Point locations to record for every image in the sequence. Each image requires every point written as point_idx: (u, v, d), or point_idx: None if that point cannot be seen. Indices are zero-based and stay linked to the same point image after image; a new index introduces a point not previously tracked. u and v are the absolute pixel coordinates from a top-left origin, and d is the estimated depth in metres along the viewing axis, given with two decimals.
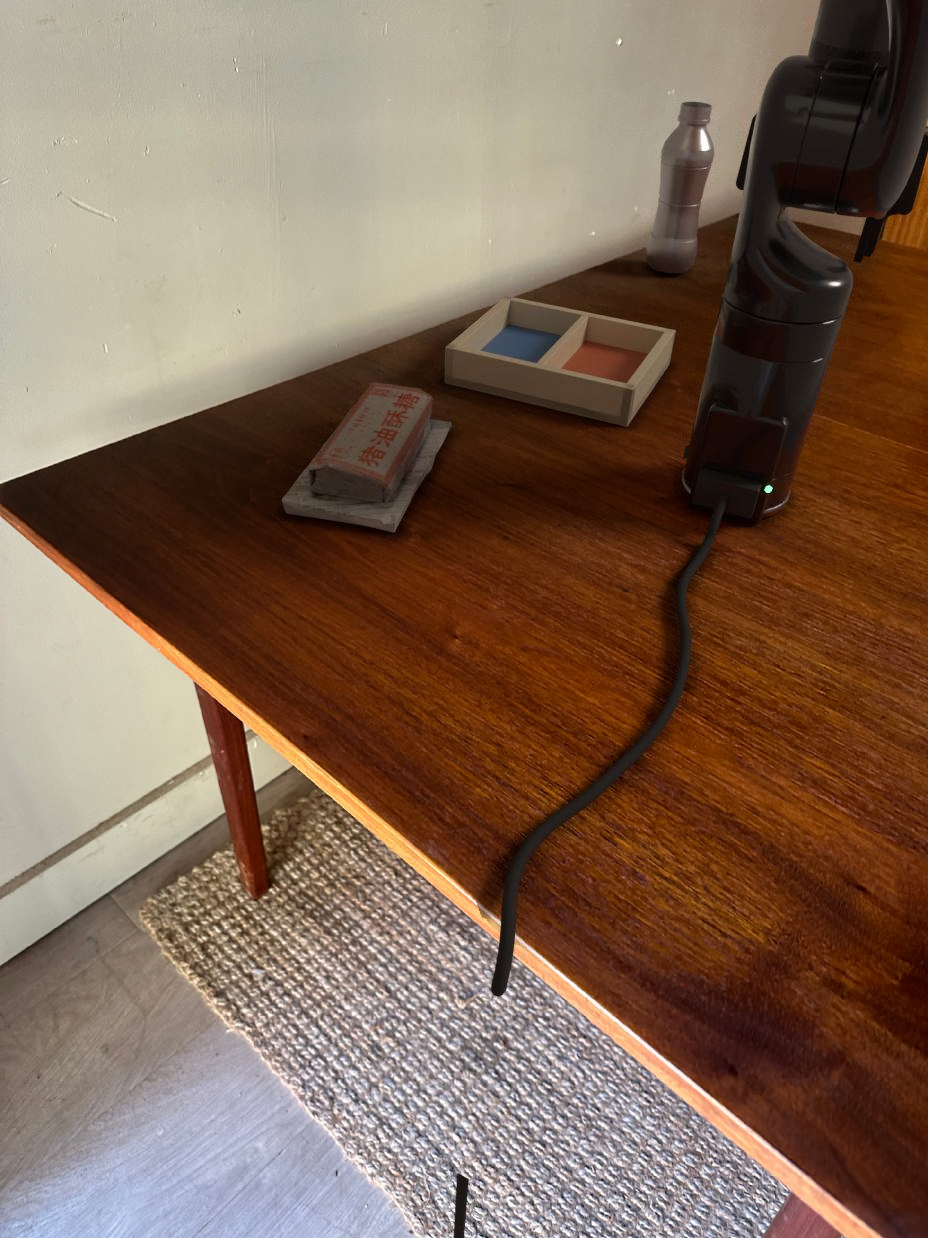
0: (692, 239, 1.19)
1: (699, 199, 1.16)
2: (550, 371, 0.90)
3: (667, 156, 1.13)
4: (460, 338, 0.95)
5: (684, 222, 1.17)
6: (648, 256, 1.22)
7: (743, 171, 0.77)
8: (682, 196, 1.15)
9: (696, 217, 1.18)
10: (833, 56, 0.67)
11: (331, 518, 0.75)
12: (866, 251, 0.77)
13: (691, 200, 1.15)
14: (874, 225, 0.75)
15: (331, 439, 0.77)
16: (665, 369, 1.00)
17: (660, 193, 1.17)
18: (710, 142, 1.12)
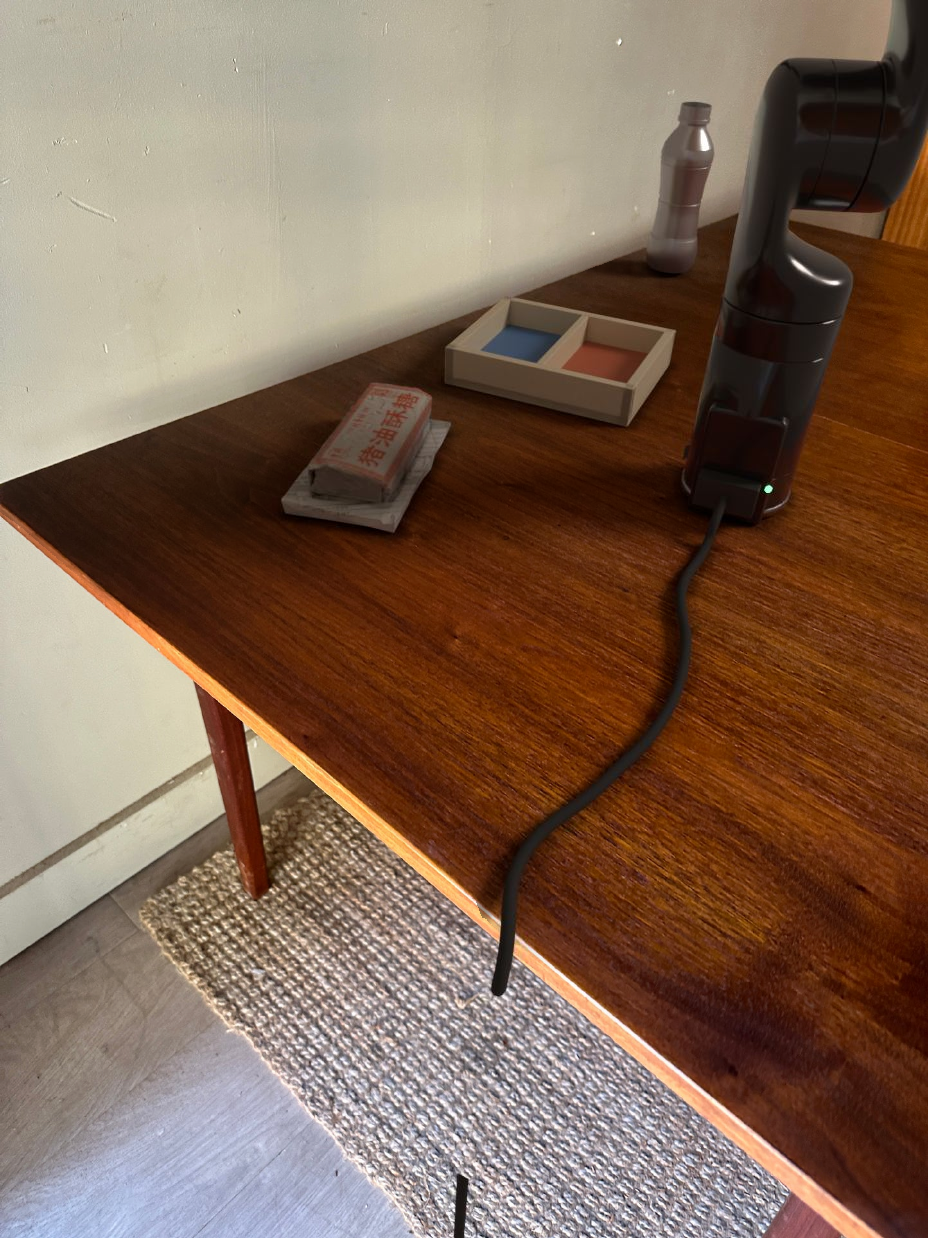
0: (692, 239, 1.19)
1: (699, 199, 1.16)
2: (550, 371, 0.90)
3: (667, 156, 1.13)
4: (460, 338, 0.95)
5: (684, 222, 1.17)
6: (648, 256, 1.22)
7: None
8: (682, 196, 1.15)
9: (696, 217, 1.18)
10: None
11: (330, 518, 0.75)
12: None
13: (691, 200, 1.15)
14: None
15: (330, 439, 0.77)
16: (665, 369, 1.00)
17: (660, 193, 1.17)
18: (710, 142, 1.12)
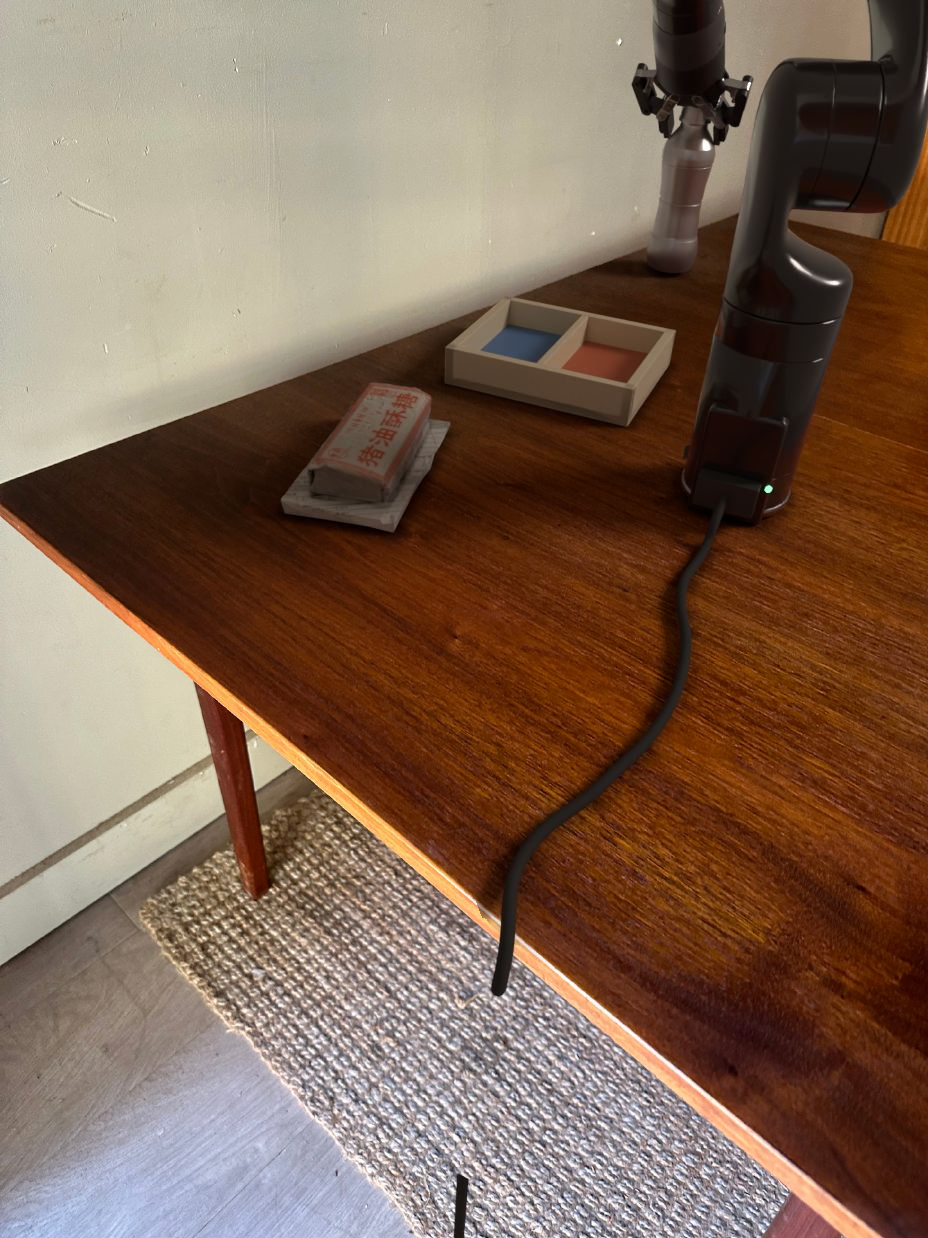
0: (692, 239, 1.19)
1: (700, 199, 1.16)
2: (550, 371, 0.90)
3: (668, 156, 1.13)
4: (460, 338, 0.95)
5: (684, 222, 1.17)
6: (648, 256, 1.22)
7: (642, 107, 1.10)
8: (683, 196, 1.15)
9: (697, 217, 1.18)
10: (665, 70, 1.00)
11: (330, 518, 0.75)
12: (720, 139, 1.12)
13: (692, 200, 1.15)
14: None
15: (330, 439, 0.77)
16: (665, 369, 1.00)
17: (661, 193, 1.17)
18: (711, 142, 1.12)
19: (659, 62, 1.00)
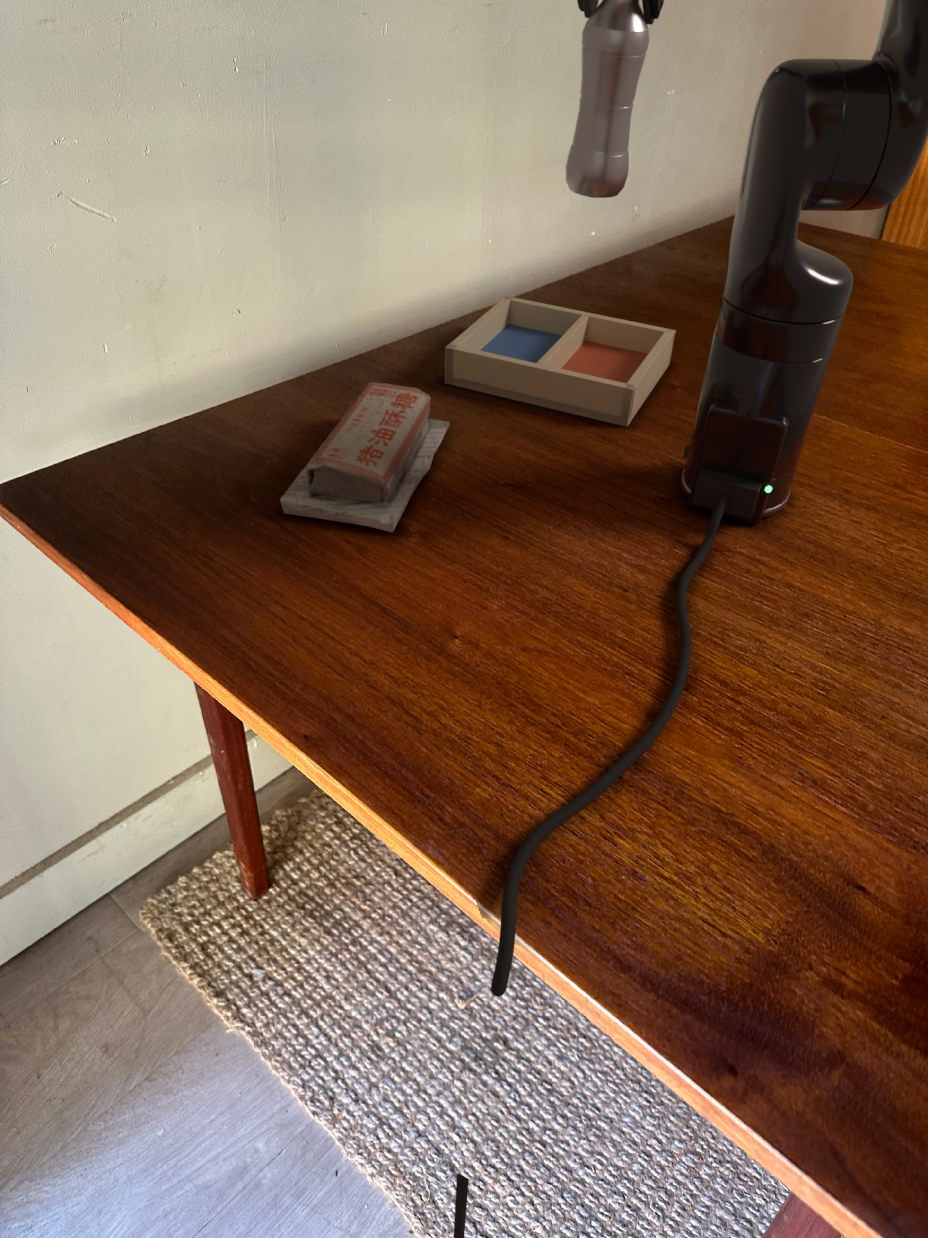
0: (621, 153, 0.94)
1: (629, 100, 0.91)
2: (550, 371, 0.90)
3: (587, 40, 0.88)
4: (460, 338, 0.95)
5: (610, 129, 0.92)
6: (567, 175, 0.96)
7: None
8: (607, 94, 0.90)
9: (626, 124, 0.92)
10: None
11: (329, 518, 0.75)
12: (653, 15, 0.87)
13: (618, 100, 0.90)
14: None
15: (329, 439, 0.77)
16: (665, 369, 1.00)
17: (581, 91, 0.92)
18: (643, 22, 0.87)
19: None
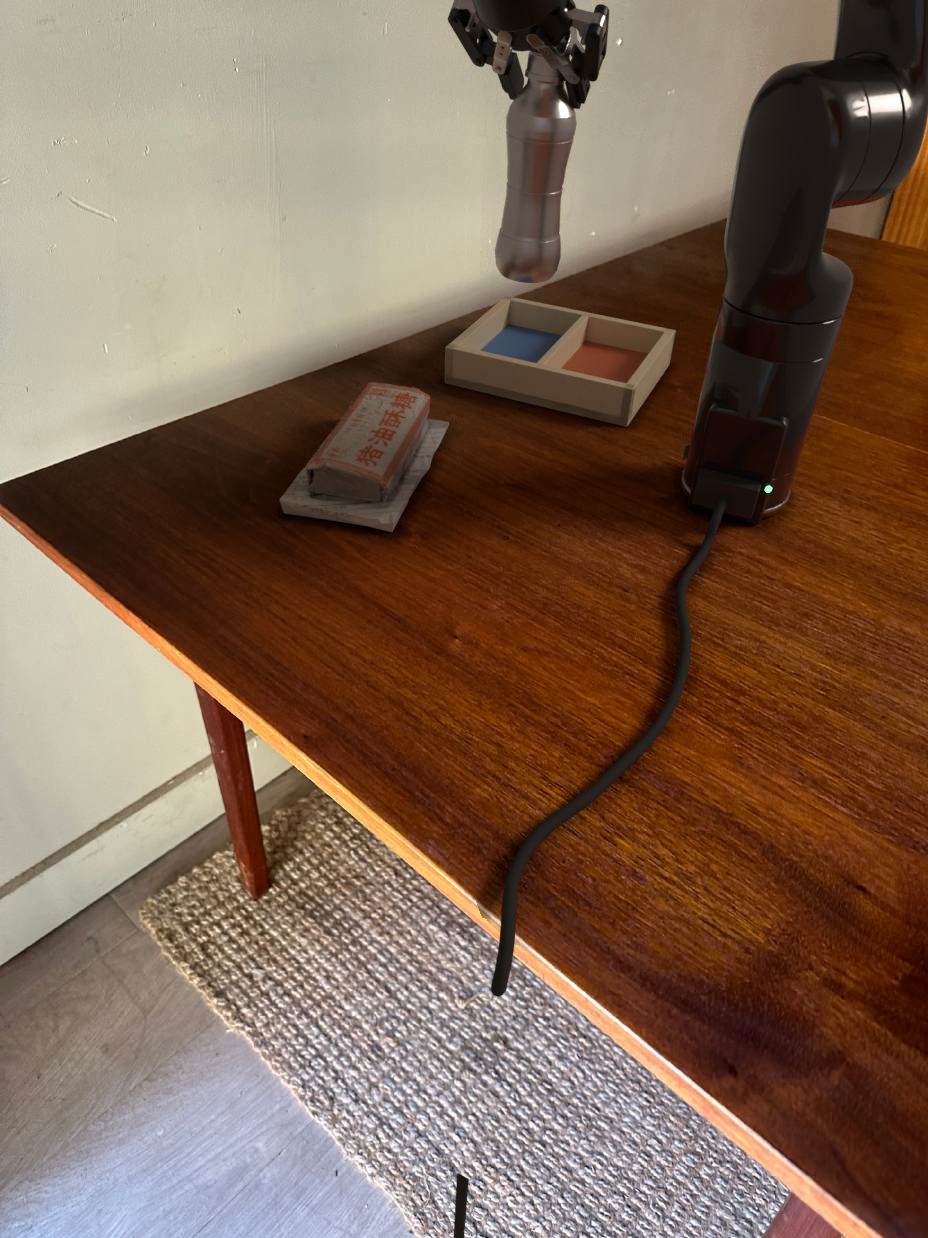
0: (551, 239, 0.89)
1: (557, 185, 0.86)
2: (550, 371, 0.90)
3: (511, 125, 0.83)
4: (460, 338, 0.95)
5: (538, 215, 0.87)
6: (496, 259, 0.92)
7: (472, 55, 0.80)
8: (533, 180, 0.85)
9: (555, 210, 0.88)
10: None
11: (329, 518, 0.75)
12: (579, 100, 0.82)
13: (545, 186, 0.86)
14: (575, 83, 0.80)
15: (329, 439, 0.77)
16: (665, 369, 1.00)
17: (507, 175, 0.87)
18: (569, 107, 0.82)
19: None
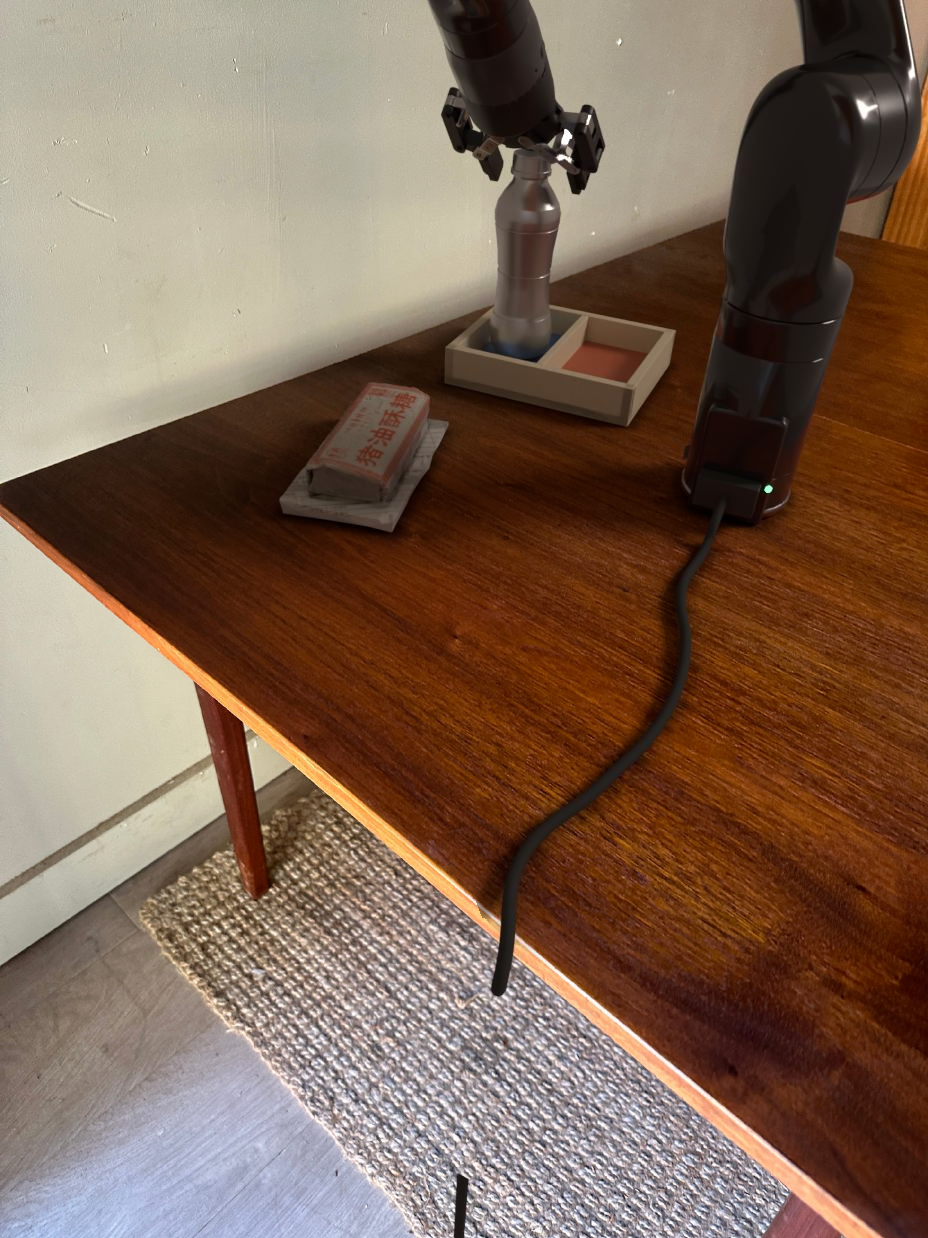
0: (541, 318, 0.94)
1: (545, 270, 0.92)
2: (550, 371, 0.90)
3: (499, 217, 0.89)
4: (460, 338, 0.95)
5: (528, 298, 0.93)
6: (490, 337, 0.97)
7: (455, 143, 0.85)
8: (522, 266, 0.91)
9: (544, 292, 0.93)
10: (470, 104, 0.74)
11: (329, 518, 0.75)
12: (580, 187, 0.86)
13: (534, 271, 0.91)
14: (576, 173, 0.84)
15: (328, 439, 0.77)
16: (665, 369, 1.00)
17: (498, 261, 0.92)
18: (553, 200, 0.88)
19: (462, 94, 0.74)
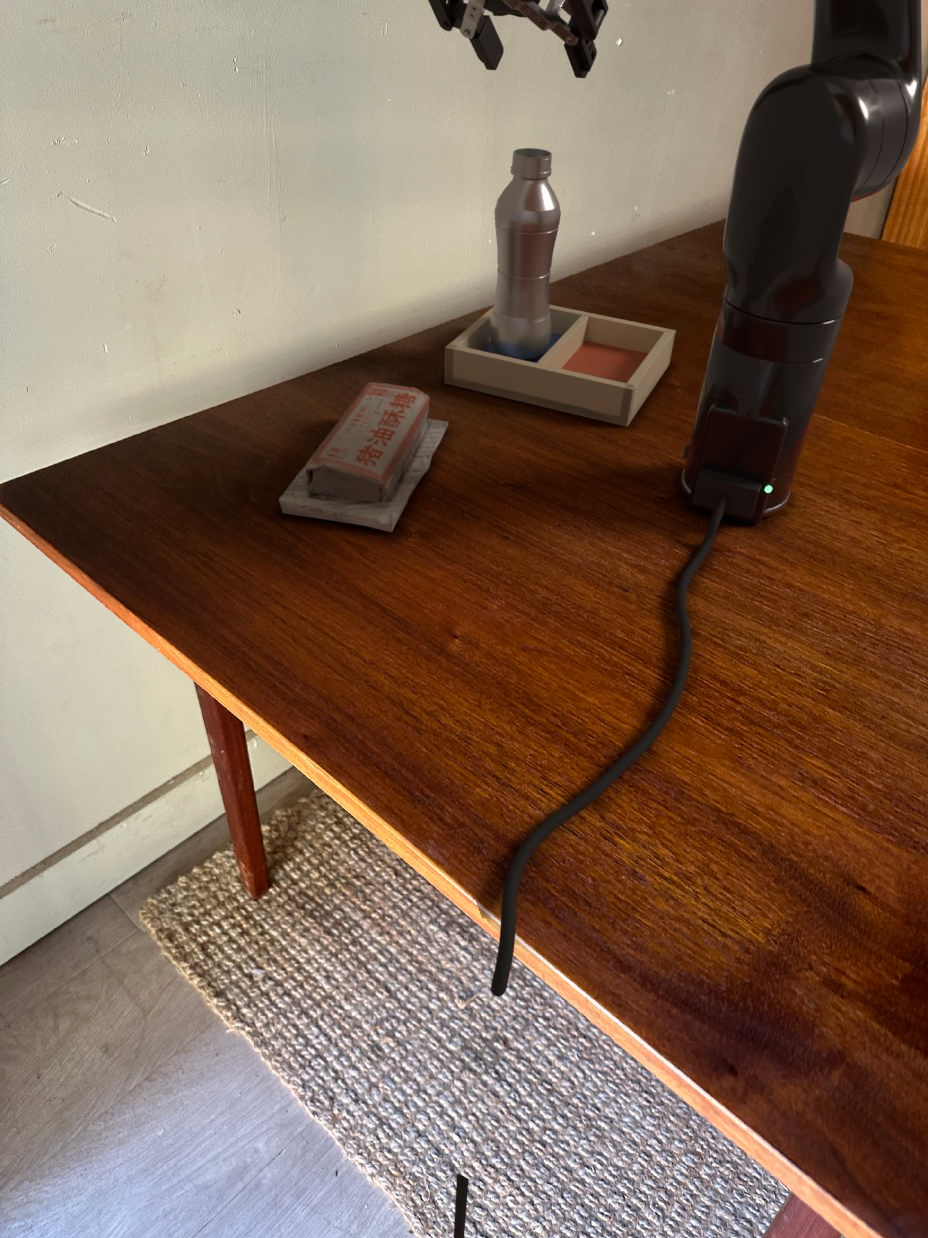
0: (541, 318, 0.94)
1: (545, 270, 0.92)
2: (550, 371, 0.90)
3: (499, 217, 0.89)
4: (460, 338, 0.95)
5: (527, 298, 0.93)
6: (490, 337, 0.97)
7: (439, 16, 0.73)
8: (522, 266, 0.91)
9: (544, 291, 0.93)
10: None
11: (328, 518, 0.75)
12: (584, 67, 0.73)
13: (534, 271, 0.91)
14: (576, 46, 0.71)
15: (328, 439, 0.77)
16: (665, 369, 1.00)
17: (497, 261, 0.92)
18: (552, 200, 0.88)
19: None
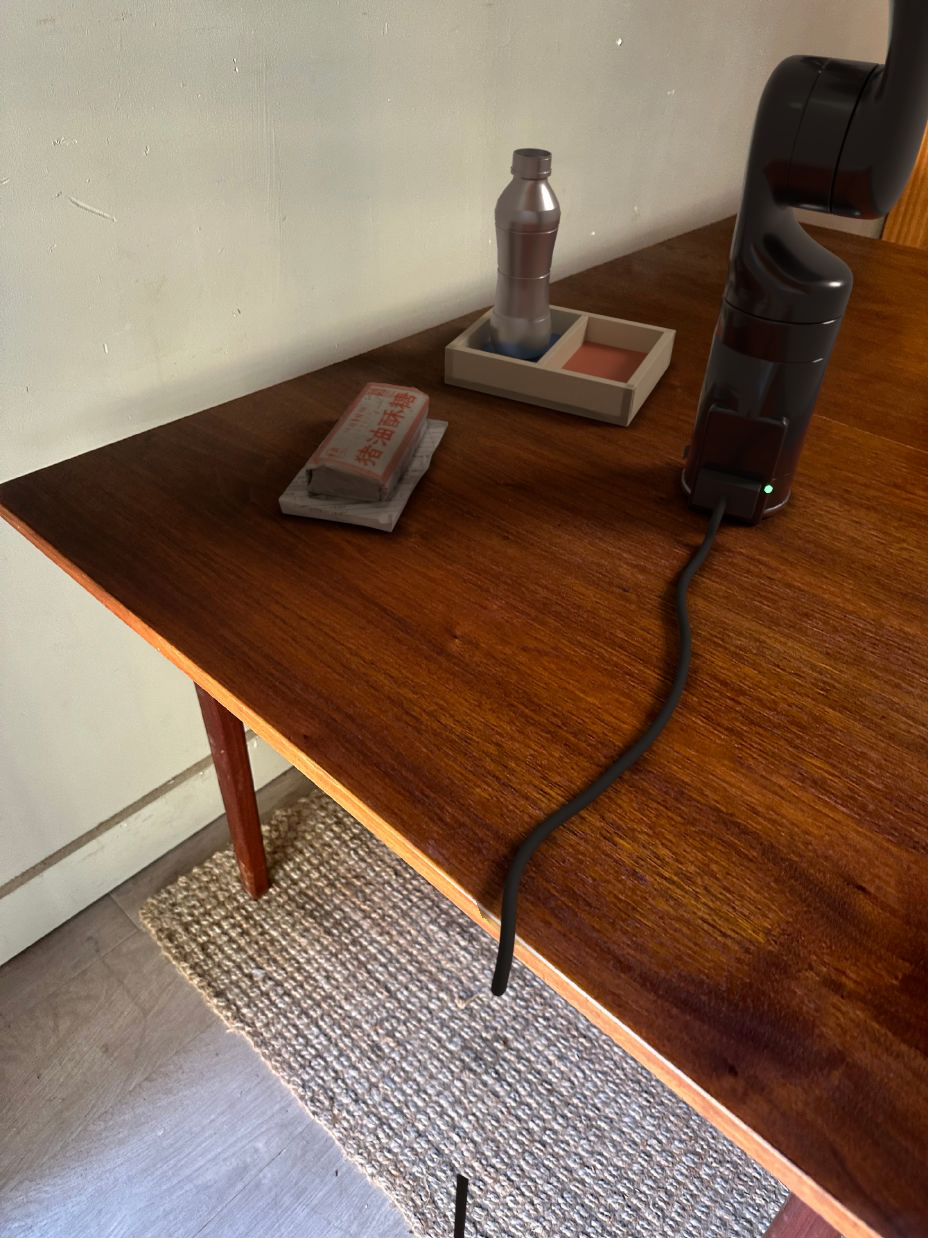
0: (541, 318, 0.94)
1: (545, 270, 0.92)
2: (550, 371, 0.90)
3: (499, 217, 0.89)
4: (460, 338, 0.95)
5: (527, 298, 0.93)
6: (490, 337, 0.97)
7: None
8: (522, 266, 0.91)
9: (544, 292, 0.93)
10: None
11: (328, 518, 0.75)
12: None
13: (534, 272, 0.91)
14: None
15: (328, 439, 0.77)
16: (665, 369, 1.00)
17: (497, 261, 0.92)
18: (552, 200, 0.88)
19: None
